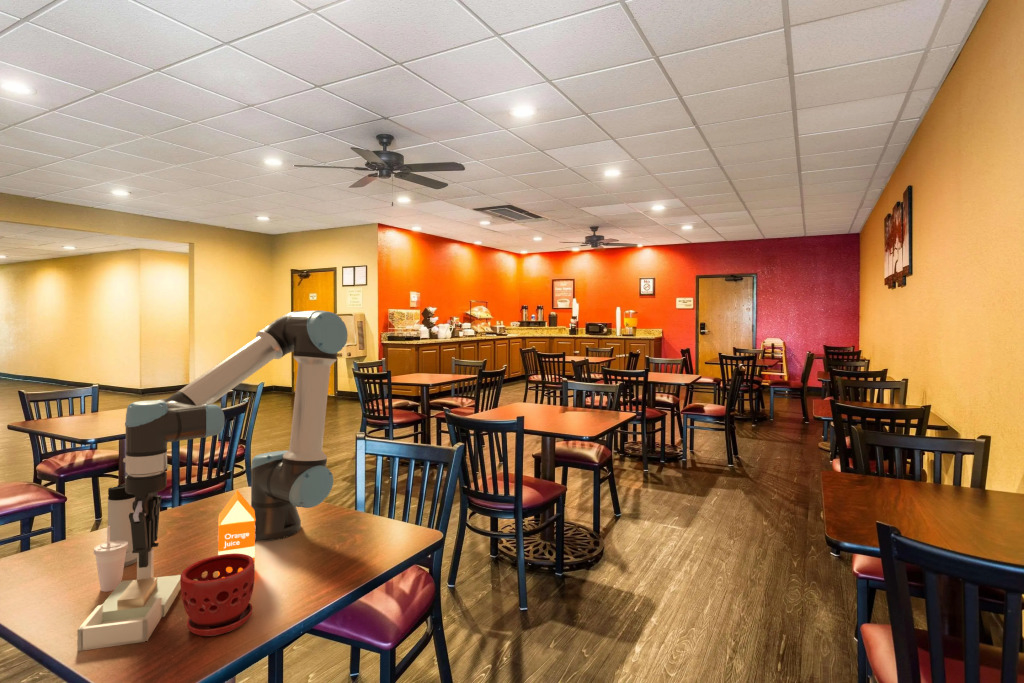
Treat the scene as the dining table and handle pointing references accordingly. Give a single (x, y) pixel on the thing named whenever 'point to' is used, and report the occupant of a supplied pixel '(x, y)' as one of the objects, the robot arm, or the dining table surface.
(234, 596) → the plant pot
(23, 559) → the dining table surface
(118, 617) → the board
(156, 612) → the tray
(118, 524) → the travel mug
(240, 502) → the orange juice
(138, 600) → the tile front
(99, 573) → the smoothie
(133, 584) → the tile rear
